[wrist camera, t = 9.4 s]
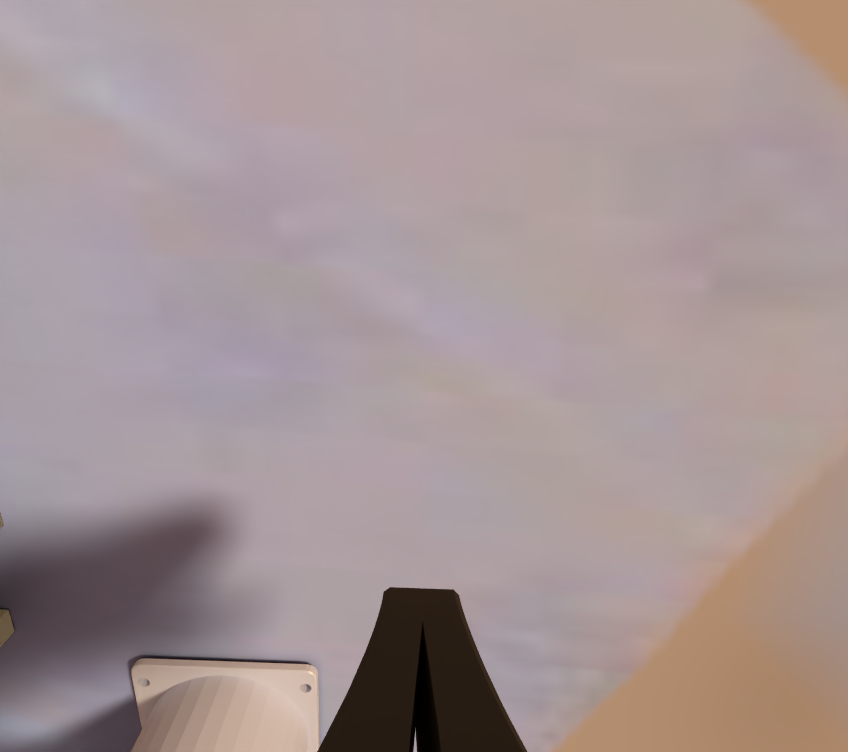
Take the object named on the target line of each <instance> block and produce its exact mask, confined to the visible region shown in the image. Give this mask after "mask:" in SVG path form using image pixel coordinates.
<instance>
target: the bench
mask: <svg viewBox="0 0 848 752" xmlns="http://www.w3.org/2000/svg"><path fill="white" fill-rule="evenodd" d="M13 633H14V628H13V624H12V621H11V617H10V614H9V610H4V609H0V647H1V646H2V645H3V644H4V643H5V641H6V640H7V639H8V638H9V637H10V636H11V635H12V634H13Z"/></svg>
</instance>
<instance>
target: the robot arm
mask: <svg viewBox="0 0 848 752" xmlns="http://www.w3.org/2000/svg"><path fill="white" fill-rule="evenodd" d="M131 675H132V680H133V686H134V691H135V696H136V701H137V707H138V712H139V717H140V722H141V728H142V730H141V732H140V734H139V736H138V738H137V740H136V742H135V744H134V746H133V748H132V750H131V752H413V748H414V737H415V727H416V742H417V752H527V750H526V749H525V747H524V745H523V743H522V741H521V739H520V737H519V735H518V734H517V732H516V730H515V728H514V726H513V724H512V722H511V721H510V719H509V717H508V715H507V713H506V711H505V709H504V707H503V705H502V703H501V701H500V698H499V696H498V694H497V692H496V690H495V688H494V686H493V684H492V681H491V679H490V677H489V675H488V673H487V671H486V669H485V666H484V664H483V662H482V659H481V657H480V655H479V652H478V650H477V647H476V645H475V642H474V640H473V637H472V635H471V632H470V629H469V627H468V624H467V621H466V618H465V615H464V612H463V609H462V606H461V602H460V598H459V595H458V594H457V593H456V592H455V591H454V590H448V589H420V588H393V587H390V588H389V589H387V590H386V591H384V594H383V599H382V604H381V608H380V612H379V615H378V618H377V622H376V625H375V628H374V630H373V633H372V636H371V638H370V641H369V644H368V646H367V649H366V652H365V654H364V656H363V658H362V661H361V663H360V665H359V668H358V670H357V672H356V675H355V677H354V679H353V682H352V684H351V686H350V688H349V690H348V693H347V695H346V697H345V699H344V701H343V703H342V705H341V707H340V709H339V711H338V713H337V714H336V716H335V718H334V720H333V722H332V724H331V726H330V728H329V730H328V732H327V734H326V736H325V738H324V740H323V742H322V744H321V746H320V747H319V694H318V671H317V669H316V668H315V667H314V666H312V665H308V664H286V663H259V662H232V661H205V660H178V659H151V658H144V659H139V660H137V661H136V662H135V664H134V666H133V667H132V669H131Z"/></svg>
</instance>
